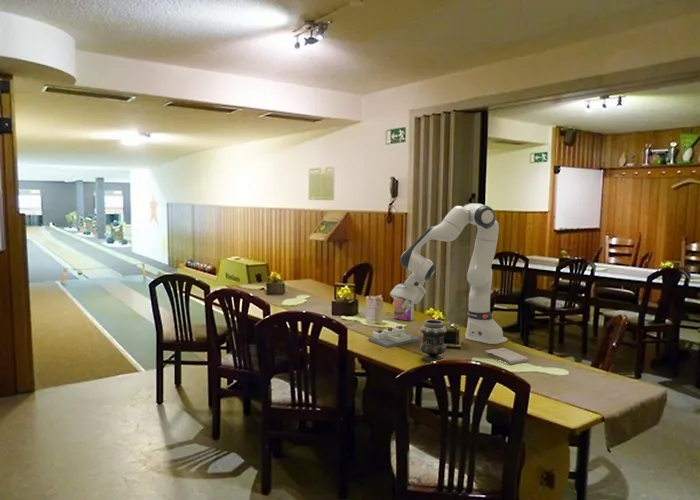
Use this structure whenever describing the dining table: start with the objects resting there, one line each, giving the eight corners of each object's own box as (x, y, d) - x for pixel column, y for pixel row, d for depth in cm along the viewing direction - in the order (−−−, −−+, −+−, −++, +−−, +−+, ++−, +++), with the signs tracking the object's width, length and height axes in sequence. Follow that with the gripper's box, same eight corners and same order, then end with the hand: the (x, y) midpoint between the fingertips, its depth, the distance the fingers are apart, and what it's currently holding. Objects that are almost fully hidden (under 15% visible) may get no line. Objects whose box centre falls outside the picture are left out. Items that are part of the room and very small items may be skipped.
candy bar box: (394, 319, 309) (394, 293, 307) (397, 317, 313) (397, 291, 311) (410, 321, 303) (410, 294, 301) (414, 319, 307) (414, 293, 305)
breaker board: (420, 340, 262) (420, 329, 261) (387, 347, 250) (387, 336, 249) (400, 333, 275) (400, 323, 275) (368, 340, 263) (368, 329, 262)
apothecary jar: (451, 361, 229) (452, 322, 227) (429, 365, 224) (430, 325, 222) (436, 354, 240) (436, 317, 238) (414, 357, 235) (415, 319, 233)
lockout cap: (405, 316, 257) (405, 299, 256) (398, 317, 255) (398, 300, 254) (399, 314, 262) (399, 297, 261) (391, 315, 259) (391, 298, 258)
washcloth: (502, 351, 244) (502, 345, 244) (529, 362, 228) (529, 356, 228) (482, 355, 239) (482, 348, 239) (509, 366, 223) (509, 359, 223)
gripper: (396, 279, 269) (382, 299, 264) (422, 284, 252) (407, 306, 247) (402, 286, 272) (388, 306, 267) (429, 292, 255) (414, 313, 250)
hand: (397, 306), depth 257 cm, fingers closed on lockout cap, 5 cm apart
